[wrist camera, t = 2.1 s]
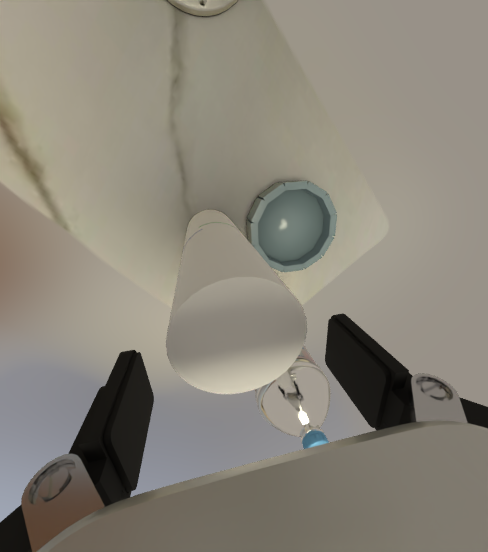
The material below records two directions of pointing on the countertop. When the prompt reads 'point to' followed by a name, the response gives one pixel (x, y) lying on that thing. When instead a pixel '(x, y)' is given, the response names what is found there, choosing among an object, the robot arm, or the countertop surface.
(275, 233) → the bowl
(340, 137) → the countertop surface
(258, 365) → the cylindrical container
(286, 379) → the water bottle
